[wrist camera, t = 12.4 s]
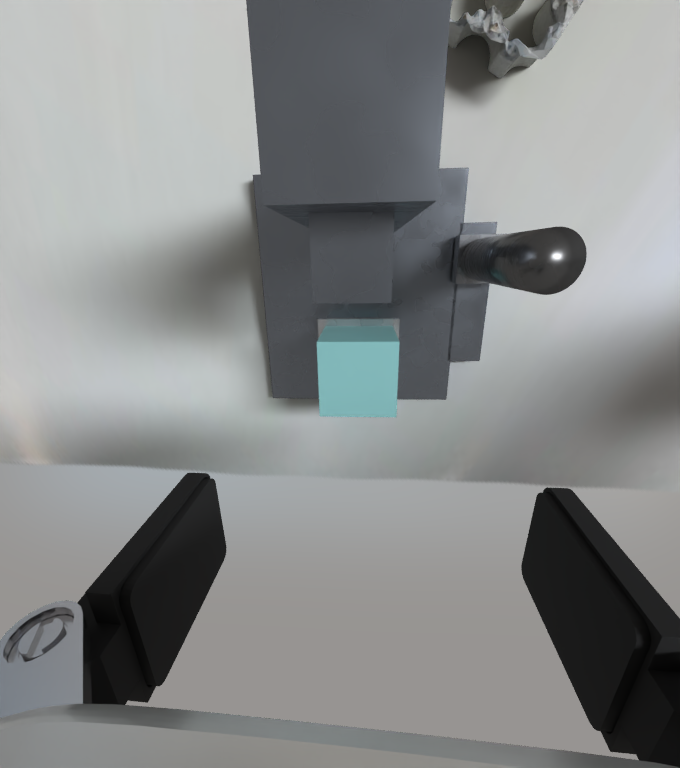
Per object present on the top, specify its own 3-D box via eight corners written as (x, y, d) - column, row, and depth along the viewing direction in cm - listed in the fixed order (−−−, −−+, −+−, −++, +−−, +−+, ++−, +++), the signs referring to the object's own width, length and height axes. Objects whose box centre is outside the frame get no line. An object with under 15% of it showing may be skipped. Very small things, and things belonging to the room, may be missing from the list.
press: (498, 170, 23) (878, -70, 6) (470, 395, 28) (627, 598, 12) (257, 178, 24) (3, -8, 7) (275, 393, 29) (158, 577, 13)
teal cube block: (392, 325, 25) (399, 341, 21) (390, 389, 27) (396, 417, 22) (325, 326, 26) (316, 341, 21) (327, 388, 28) (319, 416, 23)
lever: (501, 235, 23) (599, 220, 13) (495, 281, 24) (582, 299, 14) (455, 235, 23) (520, 221, 14) (451, 282, 24) (508, 299, 15)
